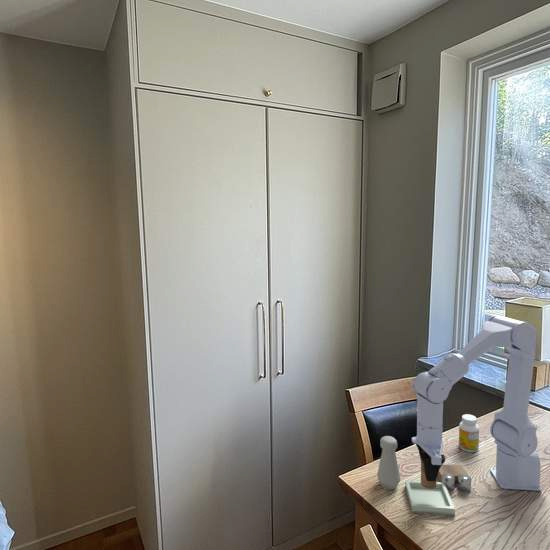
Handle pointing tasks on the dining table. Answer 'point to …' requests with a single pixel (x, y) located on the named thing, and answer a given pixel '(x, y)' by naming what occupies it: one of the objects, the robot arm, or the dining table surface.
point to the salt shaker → (388, 464)
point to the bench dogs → (463, 482)
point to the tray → (429, 499)
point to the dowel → (423, 478)
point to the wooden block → (452, 471)
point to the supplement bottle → (469, 433)
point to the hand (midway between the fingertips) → (428, 474)
